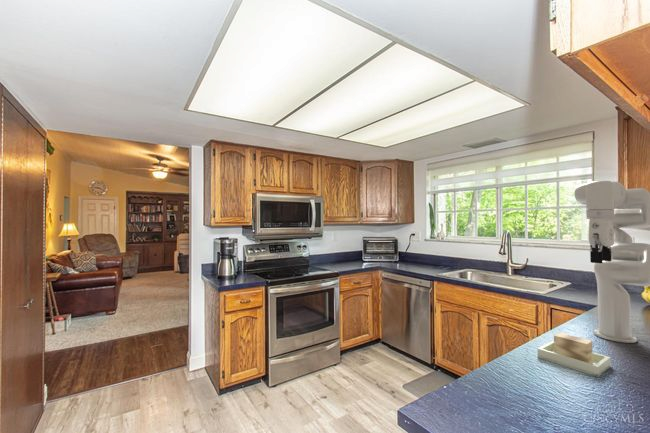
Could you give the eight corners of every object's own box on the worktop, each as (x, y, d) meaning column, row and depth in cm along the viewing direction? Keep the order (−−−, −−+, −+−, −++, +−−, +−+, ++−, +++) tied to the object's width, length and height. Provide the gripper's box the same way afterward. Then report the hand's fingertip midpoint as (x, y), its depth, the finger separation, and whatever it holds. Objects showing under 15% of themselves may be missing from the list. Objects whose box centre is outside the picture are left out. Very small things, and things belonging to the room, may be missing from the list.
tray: (552, 349, 110) (552, 340, 110) (610, 366, 96) (610, 357, 96) (537, 357, 103) (537, 348, 103) (598, 377, 90) (598, 367, 90)
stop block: (592, 362, 98) (592, 341, 98) (588, 366, 95) (587, 344, 95) (559, 352, 105) (559, 332, 105) (554, 355, 103) (553, 335, 103)
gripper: (606, 214, 101) (607, 265, 101) (621, 214, 110) (622, 261, 110) (578, 214, 107) (579, 262, 107) (594, 215, 117) (595, 259, 116)
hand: (601, 261), depth 108 cm, fingers open, 9 cm apart
